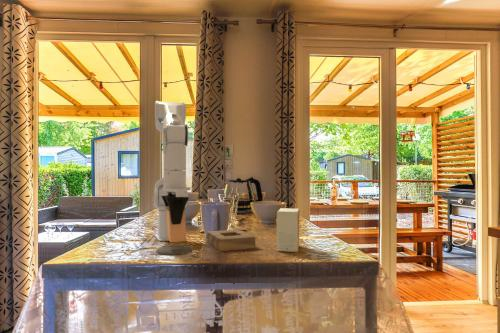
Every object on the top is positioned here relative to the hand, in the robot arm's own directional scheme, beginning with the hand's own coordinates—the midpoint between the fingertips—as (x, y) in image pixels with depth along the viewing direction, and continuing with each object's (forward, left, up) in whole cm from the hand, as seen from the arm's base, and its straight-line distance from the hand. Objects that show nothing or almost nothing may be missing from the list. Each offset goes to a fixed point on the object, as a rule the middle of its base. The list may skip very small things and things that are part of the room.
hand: (174, 222), depth 87 cm
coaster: (0, 0, -7) cm, 7 cm away
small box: (+9, +29, -8) cm, 31 cm away
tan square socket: (-1, +16, -7) cm, 18 cm away
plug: (0, +1, -4) cm, 4 cm away
